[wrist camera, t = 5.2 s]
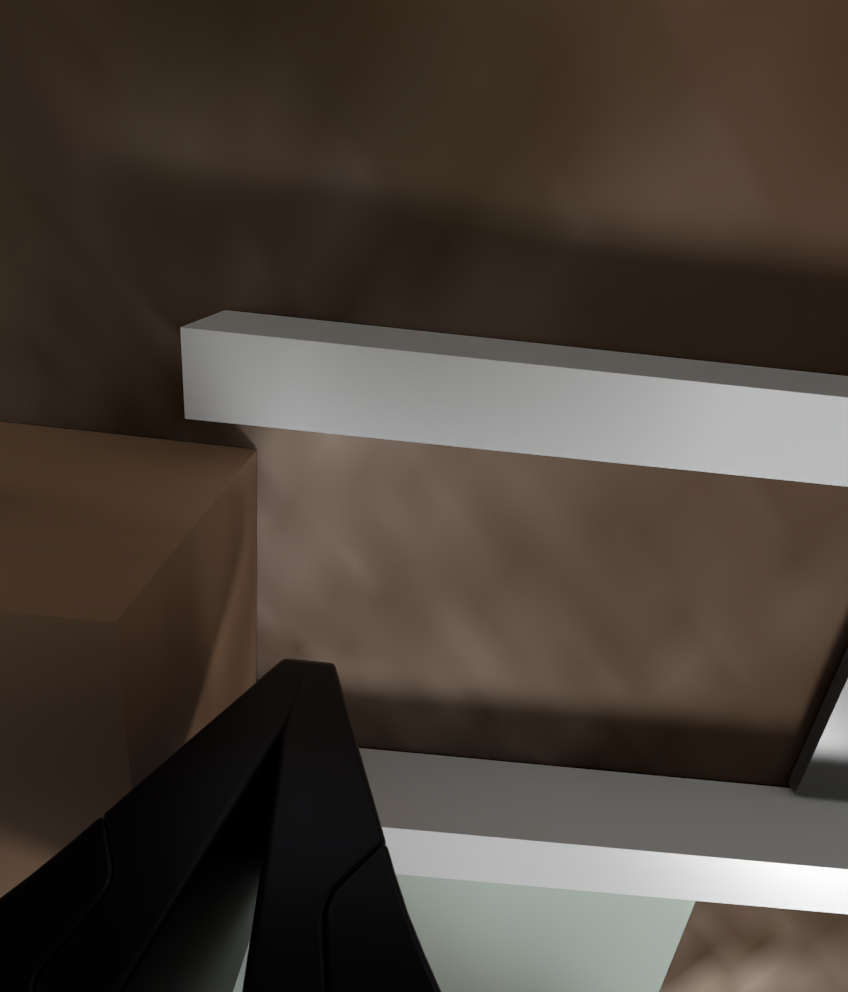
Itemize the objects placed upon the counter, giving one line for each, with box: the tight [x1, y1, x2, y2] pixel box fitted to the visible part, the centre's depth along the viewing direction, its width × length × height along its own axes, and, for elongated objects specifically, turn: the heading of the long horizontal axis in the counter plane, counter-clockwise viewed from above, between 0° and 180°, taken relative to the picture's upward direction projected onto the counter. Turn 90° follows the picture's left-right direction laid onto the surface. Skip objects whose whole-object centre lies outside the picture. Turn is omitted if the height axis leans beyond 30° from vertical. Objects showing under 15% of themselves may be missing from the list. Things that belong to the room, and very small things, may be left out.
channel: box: [180, 310, 848, 914], centre depth 11 cm, size 10×14×2 cm
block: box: [0, 422, 257, 898], centre depth 9 cm, size 5×5×5 cm
